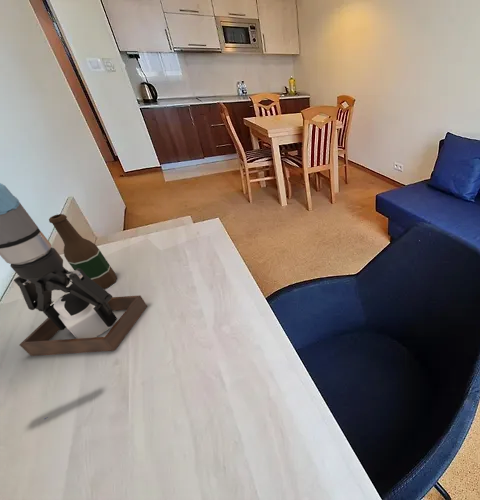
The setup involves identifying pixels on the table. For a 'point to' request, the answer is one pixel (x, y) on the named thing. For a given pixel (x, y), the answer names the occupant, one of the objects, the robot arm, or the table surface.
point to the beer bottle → (83, 253)
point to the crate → (43, 345)
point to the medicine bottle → (79, 317)
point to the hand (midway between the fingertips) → (89, 324)
